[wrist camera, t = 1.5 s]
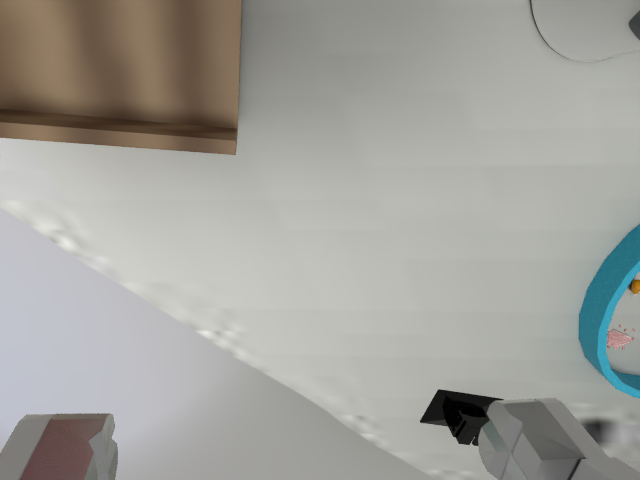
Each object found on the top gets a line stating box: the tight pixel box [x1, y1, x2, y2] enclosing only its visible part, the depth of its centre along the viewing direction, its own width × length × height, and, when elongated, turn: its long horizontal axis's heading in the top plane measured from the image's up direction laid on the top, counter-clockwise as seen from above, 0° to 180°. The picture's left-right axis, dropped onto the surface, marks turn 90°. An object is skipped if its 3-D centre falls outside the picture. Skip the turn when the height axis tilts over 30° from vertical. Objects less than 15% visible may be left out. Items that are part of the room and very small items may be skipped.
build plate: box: [420, 389, 504, 446], centre depth 58 cm, size 13×8×5 cm, turn 71°
